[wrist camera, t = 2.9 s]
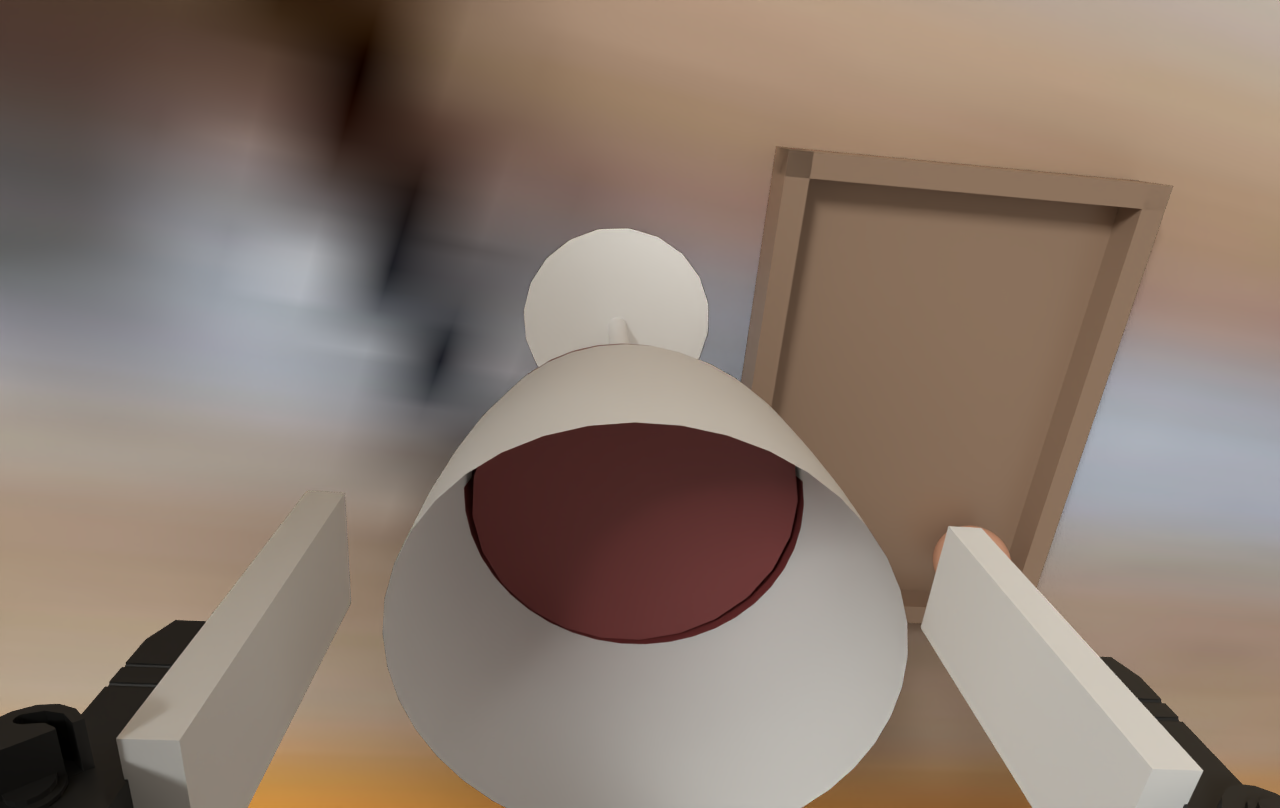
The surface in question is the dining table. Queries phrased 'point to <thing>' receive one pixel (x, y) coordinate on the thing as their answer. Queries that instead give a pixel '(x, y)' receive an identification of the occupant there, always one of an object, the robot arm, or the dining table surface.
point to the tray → (944, 338)
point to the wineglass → (640, 571)
